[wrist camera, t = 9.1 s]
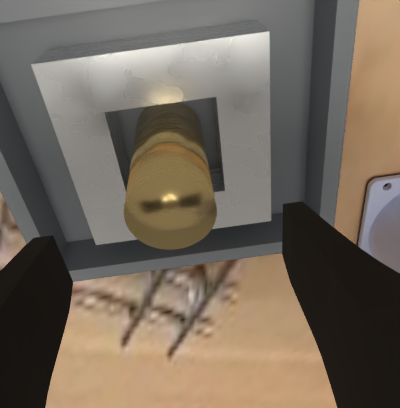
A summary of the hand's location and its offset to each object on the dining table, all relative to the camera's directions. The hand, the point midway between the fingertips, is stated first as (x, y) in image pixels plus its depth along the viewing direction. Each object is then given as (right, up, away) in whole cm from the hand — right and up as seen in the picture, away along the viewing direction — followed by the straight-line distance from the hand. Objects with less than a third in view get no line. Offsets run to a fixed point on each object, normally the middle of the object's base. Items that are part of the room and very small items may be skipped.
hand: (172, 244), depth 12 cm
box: (-1, +5, +8) cm, 9 cm away
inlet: (-1, +5, +8) cm, 9 cm away
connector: (-1, +5, +7) cm, 8 cm away
